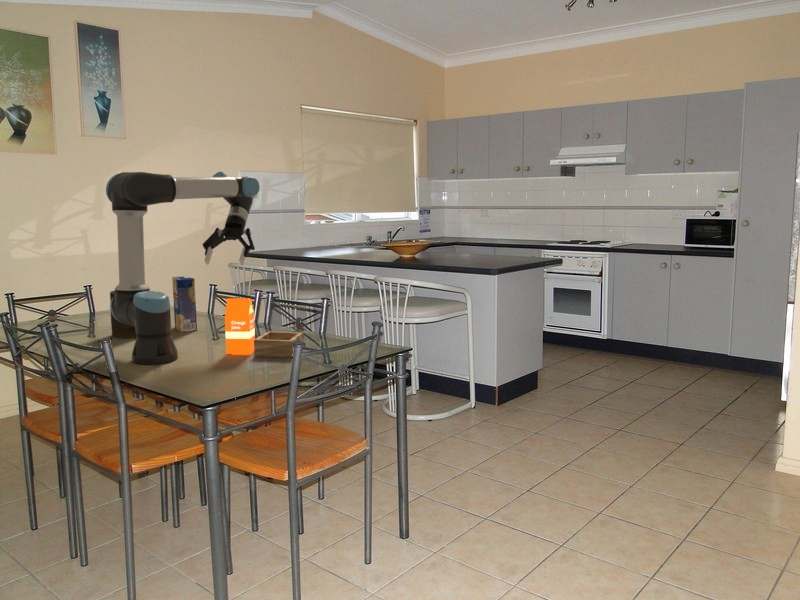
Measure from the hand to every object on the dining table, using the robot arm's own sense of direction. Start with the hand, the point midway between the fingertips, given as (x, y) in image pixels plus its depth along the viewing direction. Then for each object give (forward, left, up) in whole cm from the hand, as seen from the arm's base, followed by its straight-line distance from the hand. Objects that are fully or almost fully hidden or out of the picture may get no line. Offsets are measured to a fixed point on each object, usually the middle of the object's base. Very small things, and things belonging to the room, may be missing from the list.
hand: (223, 262), depth 254 cm
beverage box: (+26, +29, -32) cm, 50 cm away
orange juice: (-12, -10, -32) cm, 35 cm away
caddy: (-10, -24, -32) cm, 41 cm away
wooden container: (+12, +46, -32) cm, 57 cm away
